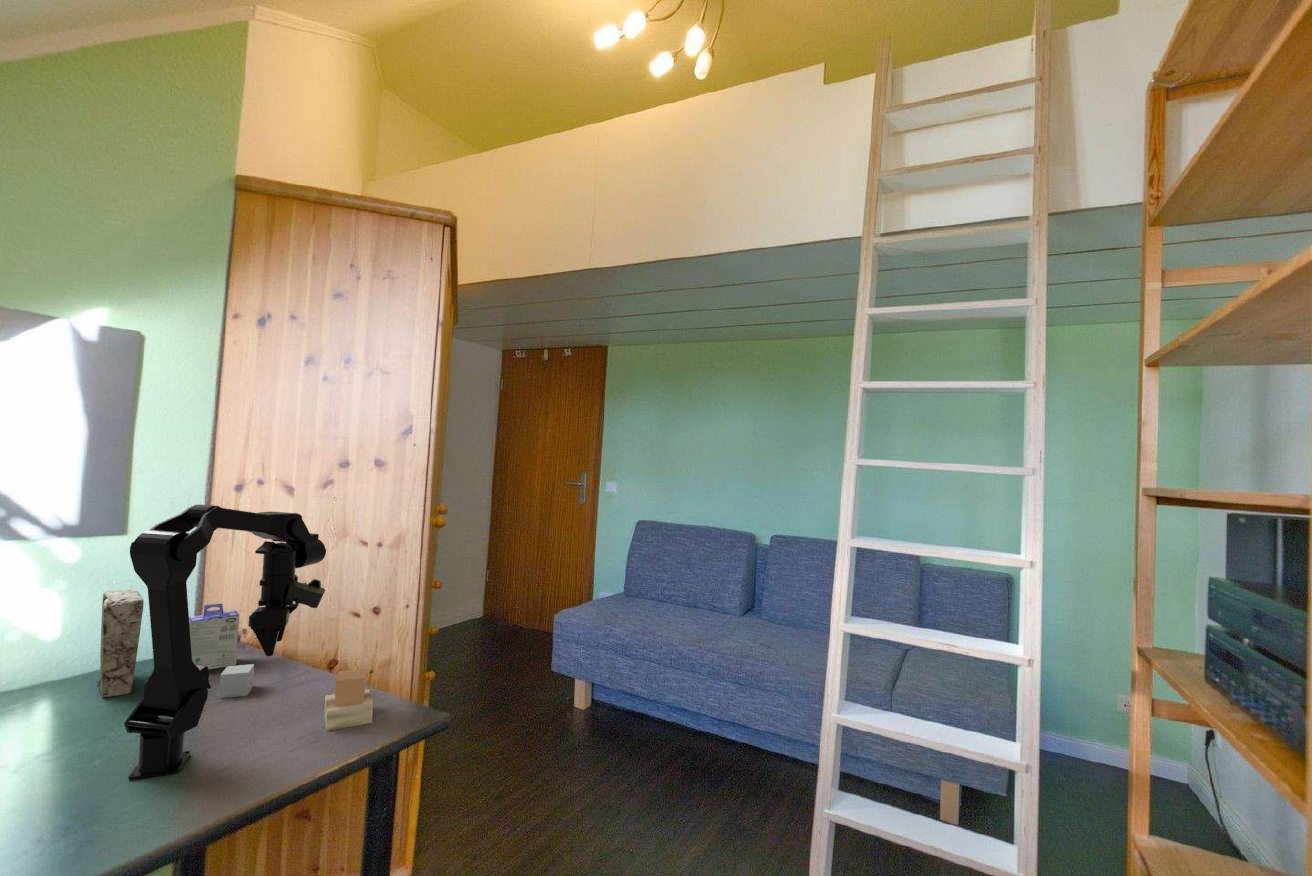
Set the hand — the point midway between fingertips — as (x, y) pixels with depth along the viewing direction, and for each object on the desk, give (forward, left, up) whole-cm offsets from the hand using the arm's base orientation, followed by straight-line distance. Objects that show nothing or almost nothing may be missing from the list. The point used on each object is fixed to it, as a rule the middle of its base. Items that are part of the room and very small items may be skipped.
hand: (274, 648), depth 120 cm
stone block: (+20, +32, -12) cm, 40 cm away
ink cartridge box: (+28, +17, -12) cm, 35 cm away
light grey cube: (+10, +8, -12) cm, 18 cm away
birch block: (-10, -15, -12) cm, 22 cm away
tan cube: (-10, -15, -8) cm, 20 cm away
